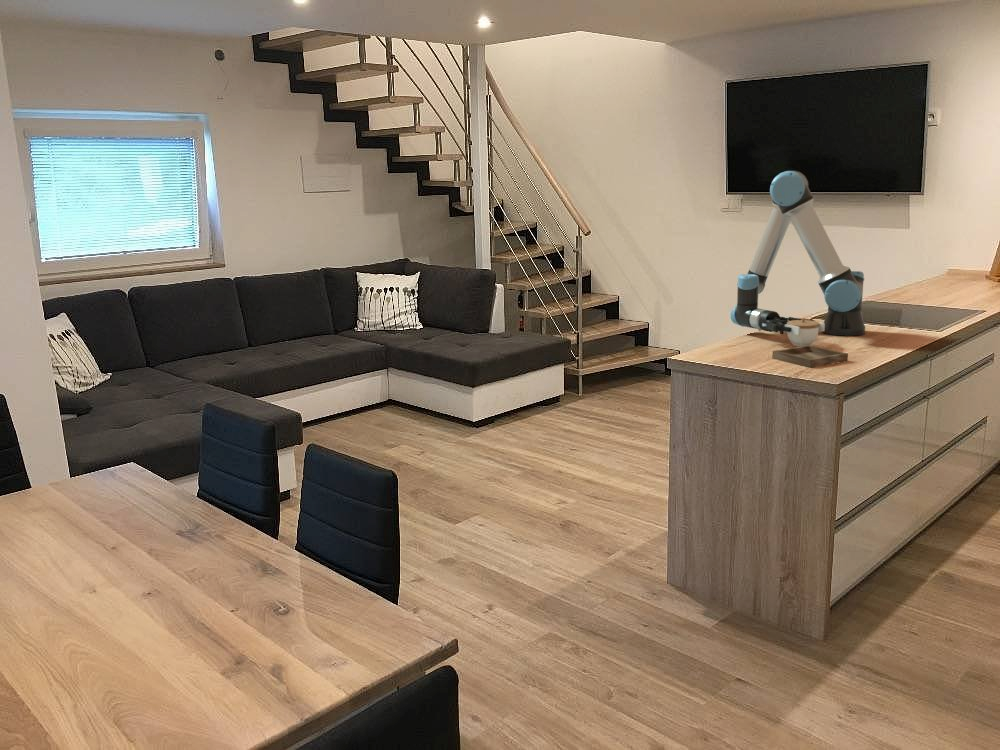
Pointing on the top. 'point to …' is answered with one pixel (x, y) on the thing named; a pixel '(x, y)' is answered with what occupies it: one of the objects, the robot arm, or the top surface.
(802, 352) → the tray
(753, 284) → the robot arm
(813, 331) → the lidded jar
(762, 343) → the top surface
